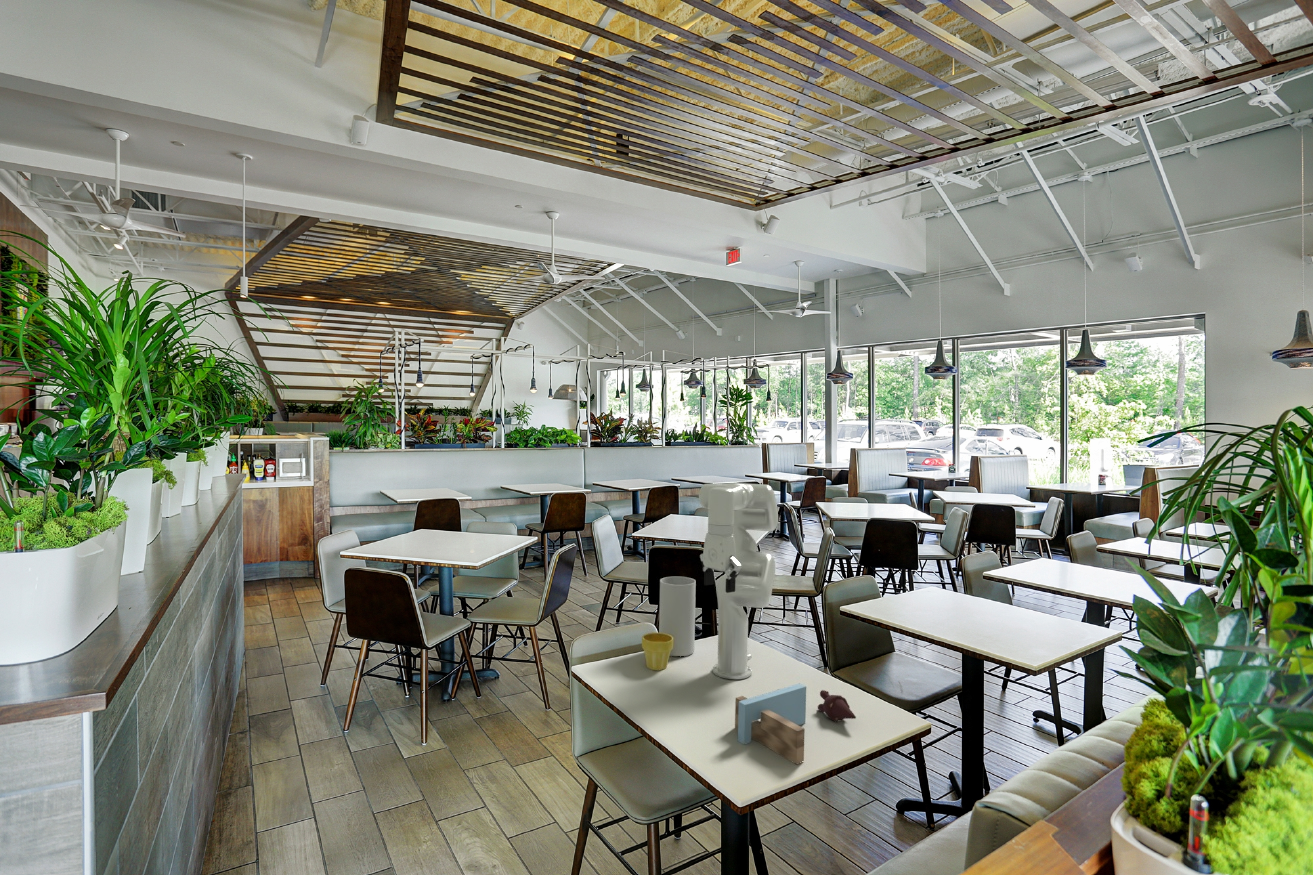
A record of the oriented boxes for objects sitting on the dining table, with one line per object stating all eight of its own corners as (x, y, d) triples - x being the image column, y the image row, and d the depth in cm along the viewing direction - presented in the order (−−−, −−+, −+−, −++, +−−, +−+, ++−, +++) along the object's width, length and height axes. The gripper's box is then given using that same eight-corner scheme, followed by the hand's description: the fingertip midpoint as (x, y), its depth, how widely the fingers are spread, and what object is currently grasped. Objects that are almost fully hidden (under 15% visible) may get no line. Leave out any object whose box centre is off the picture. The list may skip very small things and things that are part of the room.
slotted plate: (798, 719, 177) (799, 683, 177) (805, 723, 175) (806, 686, 175) (737, 740, 165) (738, 701, 165) (744, 744, 163) (745, 704, 163)
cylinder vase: (671, 642, 237) (673, 574, 237) (700, 650, 230) (702, 580, 230) (651, 652, 227) (653, 581, 227) (681, 660, 220) (683, 587, 219)
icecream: (868, 705, 173) (832, 688, 186) (846, 702, 170) (811, 685, 184) (864, 732, 172) (828, 713, 185) (842, 729, 169) (807, 710, 183)
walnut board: (734, 727, 172) (735, 697, 172) (741, 725, 173) (742, 695, 173) (796, 764, 154) (797, 731, 154) (803, 761, 155) (804, 728, 155)
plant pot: (675, 662, 218) (676, 633, 218) (669, 674, 208) (669, 643, 208) (645, 659, 220) (646, 630, 220) (637, 670, 210) (638, 640, 210)
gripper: (692, 526, 194) (691, 583, 195) (730, 535, 180) (729, 596, 180) (711, 524, 199) (710, 580, 199) (750, 533, 184) (749, 593, 185)
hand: (719, 588), depth 190 cm, fingers open, 9 cm apart
